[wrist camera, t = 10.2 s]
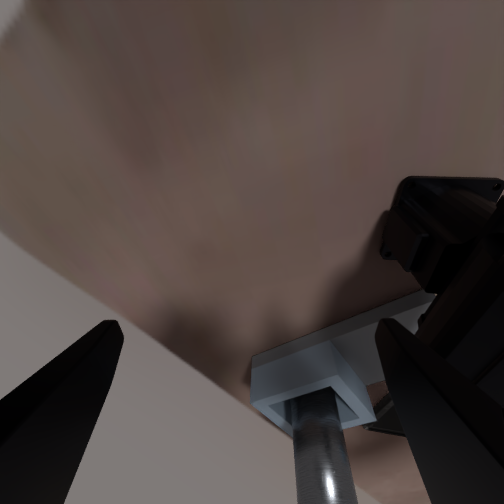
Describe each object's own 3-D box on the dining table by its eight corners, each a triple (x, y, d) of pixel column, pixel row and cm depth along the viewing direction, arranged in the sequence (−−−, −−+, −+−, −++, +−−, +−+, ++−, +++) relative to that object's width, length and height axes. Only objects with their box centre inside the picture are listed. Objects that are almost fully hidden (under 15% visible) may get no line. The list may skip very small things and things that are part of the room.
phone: (360, 428, 36) (429, 362, 28) (357, 419, 37) (424, 353, 29) (413, 438, 37) (496, 377, 29) (410, 429, 38) (489, 367, 30)
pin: (325, 356, 27) (365, 553, 16) (341, 384, 29) (386, 572, 18) (276, 369, 29) (283, 558, 17) (296, 395, 31) (312, 574, 20)
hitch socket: (428, 286, 24) (464, 333, 19) (453, 343, 28) (487, 392, 23) (252, 356, 30) (249, 403, 26) (292, 394, 34) (296, 440, 30)
